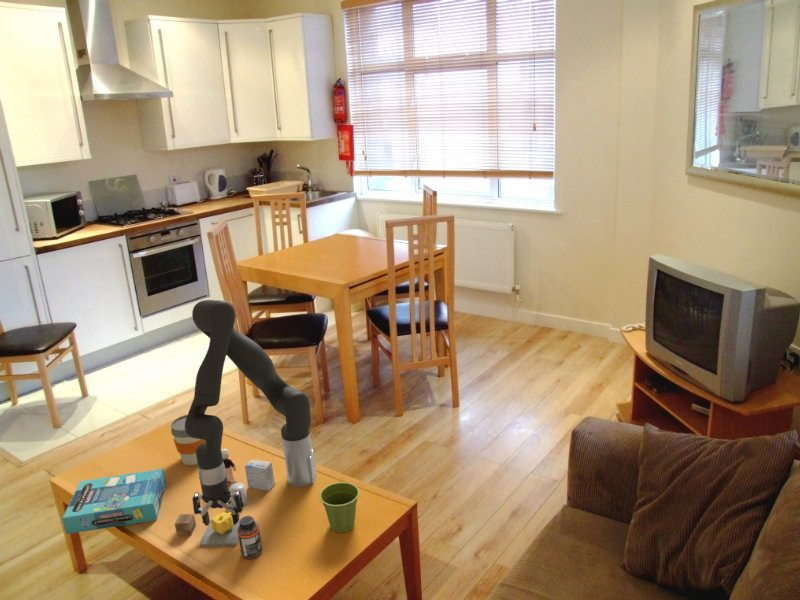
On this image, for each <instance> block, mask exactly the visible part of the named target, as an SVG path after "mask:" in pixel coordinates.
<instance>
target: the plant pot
mask: <svg viewBox="0 0 800 600" xmlns="http://www.w3.org/2000/svg"><path fill="white" fill-rule="evenodd" d="M360 493H361V492H360V489H359V487H358V486H357V485H355V484H354V483H351V482H346V481H345V482H343V481H341V482H339V481H338V482H334V483H331V484H328V485H326V486H324V488H322V489H321V491H320V492H319V500H320V502H321V503H322V505H323V507H324V509H325V513H326V516H327V519H328V523H329V526H330V529H331V530H332V531H334V532H335V533H339V532H340V533H346V532H349V531H350V530H352V529H353V528H354V526H355V521H356V510H357V503H358V498H359V496H360Z"/></svg>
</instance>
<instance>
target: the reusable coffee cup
mask: <svg viewBox="0 0 800 600" xmlns="http://www.w3.org/2000/svg"><path fill="white" fill-rule="evenodd" d="M187 415H188V414H185V415H182V416H179V417H177V418H175V419H173V421H172V422H171V424H170V428H171V431H170V432H171V435H172V436H173V442H174V445H175V448H176V451H177V452H178V453H179V455H180V457H181V458H180V459H181V461H182V463H183V464H184V465H185V466H198V463H197V458H196V449H197V447H198V446H199V445H200V444H202V443H205V442H206V441H205V440H202V439H196V438H191V437H189V436H188V435H187V433H186V431H185V421H186V418H187Z"/></svg>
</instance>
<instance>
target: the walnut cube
mask: <svg viewBox="0 0 800 600" xmlns="http://www.w3.org/2000/svg"><path fill="white" fill-rule="evenodd" d="M174 527H175V532H176V537H177V536H192V535H193V533H194V530H195V529H196V527H197V524H196V519H195V513H185V514H184V513H183V514H178V516H177V519H176V521H175V522H174Z"/></svg>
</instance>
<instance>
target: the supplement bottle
mask: <svg viewBox="0 0 800 600" xmlns="http://www.w3.org/2000/svg"><path fill="white" fill-rule="evenodd" d="M239 519H240V521H239V523H240V525H239V527H238V530H237V532H238V538H239V540H238V543H239V548H240V553H241V556H242V557H243V558H244V559H247V560H250V559H251V560H252V559H255V558H257V557H259V556H260V555H261V554H262V552H263V545H262V539H261V538H262V537H261V534H260V527H259V525H258V523H257V521H256V522H255V519H254V517H253V516H251V515H245V516H242V518H239Z"/></svg>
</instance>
